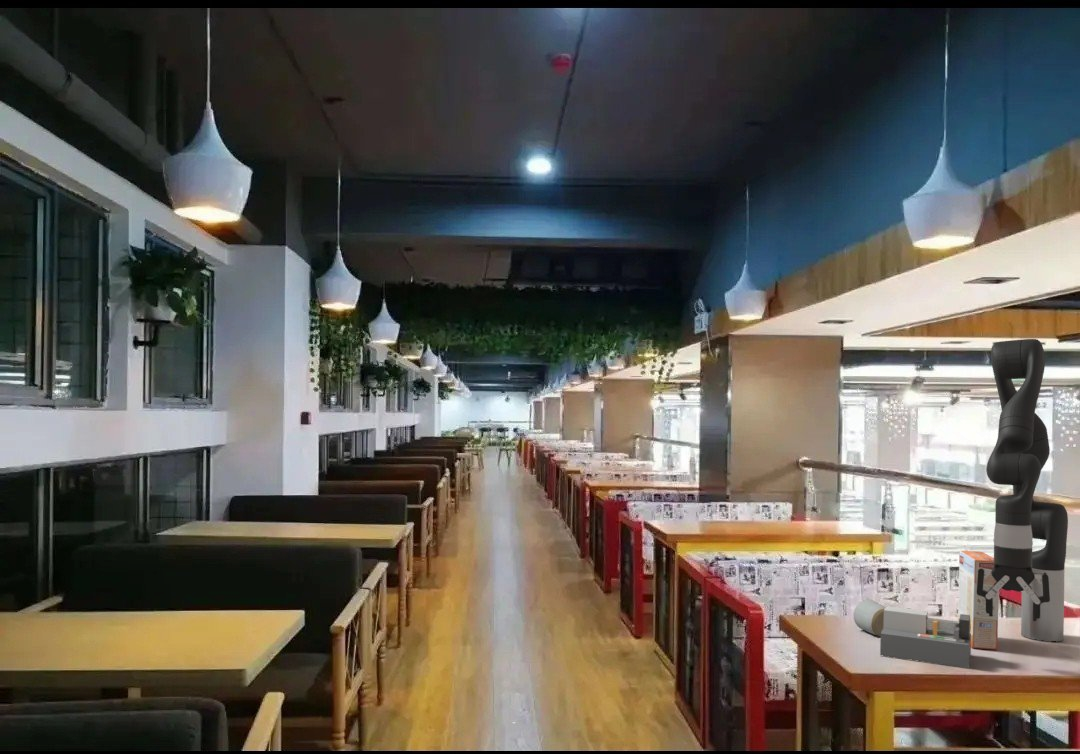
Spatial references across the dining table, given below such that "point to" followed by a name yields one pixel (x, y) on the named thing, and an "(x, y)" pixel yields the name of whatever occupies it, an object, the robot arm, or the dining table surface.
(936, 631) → the orange rectangular prism
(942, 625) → the plunger
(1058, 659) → the dining table surface
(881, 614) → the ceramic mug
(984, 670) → the dining table surface
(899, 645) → the gauge housing
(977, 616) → the cracker box
